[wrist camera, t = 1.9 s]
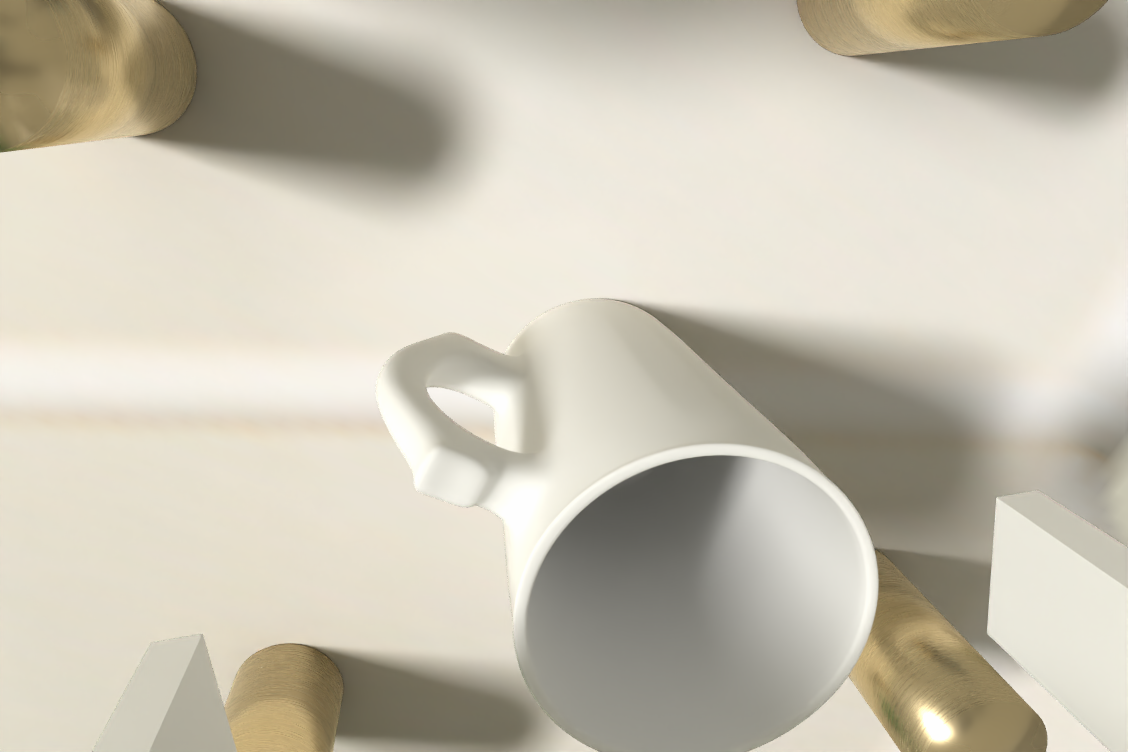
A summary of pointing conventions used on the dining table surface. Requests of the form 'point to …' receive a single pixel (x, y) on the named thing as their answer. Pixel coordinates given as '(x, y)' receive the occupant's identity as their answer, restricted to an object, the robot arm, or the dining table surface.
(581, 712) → the mug
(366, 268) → the dining table surface
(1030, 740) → the spacer posts
